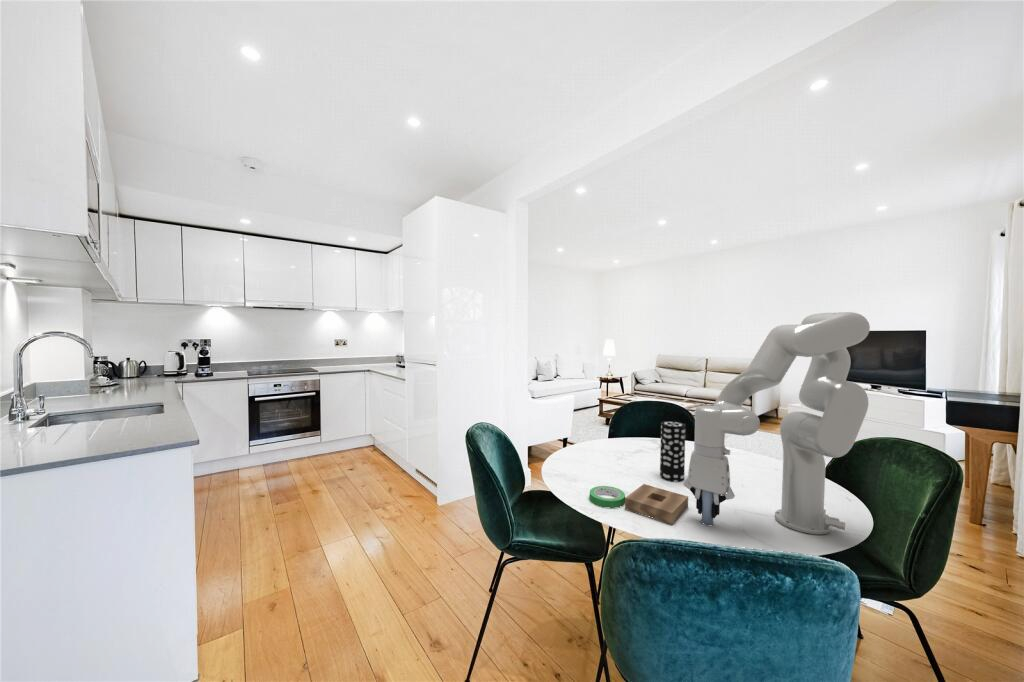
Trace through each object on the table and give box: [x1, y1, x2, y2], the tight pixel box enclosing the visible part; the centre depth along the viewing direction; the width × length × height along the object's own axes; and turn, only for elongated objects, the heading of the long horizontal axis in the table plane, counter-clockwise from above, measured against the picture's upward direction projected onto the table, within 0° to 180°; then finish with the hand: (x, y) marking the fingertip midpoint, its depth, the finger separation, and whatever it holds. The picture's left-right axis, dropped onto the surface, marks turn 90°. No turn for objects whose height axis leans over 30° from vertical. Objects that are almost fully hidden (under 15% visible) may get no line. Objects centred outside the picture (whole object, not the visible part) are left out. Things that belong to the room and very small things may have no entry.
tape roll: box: [589, 485, 626, 509], centre depth 122 cm, size 11×11×3 cm
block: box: [624, 483, 689, 526], centre depth 116 cm, size 14×14×4 cm
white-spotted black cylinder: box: [659, 420, 686, 483], centre depth 140 cm, size 8×8×20 cm
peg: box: [701, 490, 714, 526], centre depth 108 cm, size 3×3×10 cm
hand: (707, 513), depth 108 cm, fingers closed on peg, 3 cm apart
